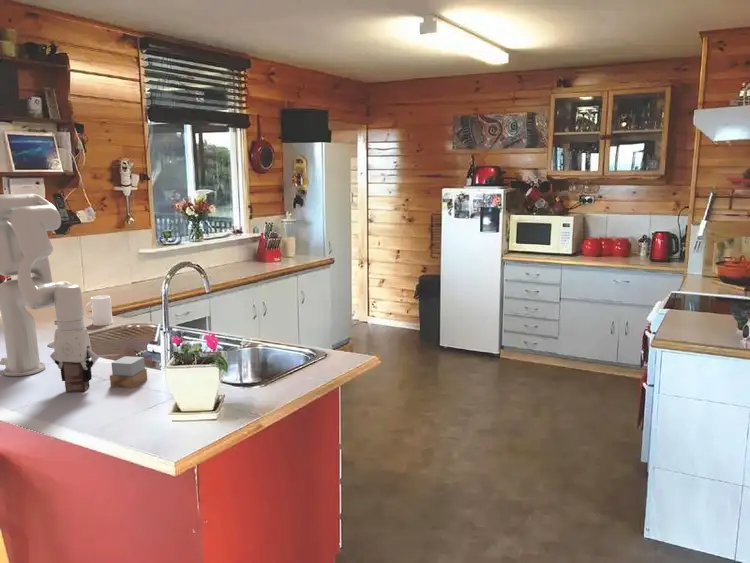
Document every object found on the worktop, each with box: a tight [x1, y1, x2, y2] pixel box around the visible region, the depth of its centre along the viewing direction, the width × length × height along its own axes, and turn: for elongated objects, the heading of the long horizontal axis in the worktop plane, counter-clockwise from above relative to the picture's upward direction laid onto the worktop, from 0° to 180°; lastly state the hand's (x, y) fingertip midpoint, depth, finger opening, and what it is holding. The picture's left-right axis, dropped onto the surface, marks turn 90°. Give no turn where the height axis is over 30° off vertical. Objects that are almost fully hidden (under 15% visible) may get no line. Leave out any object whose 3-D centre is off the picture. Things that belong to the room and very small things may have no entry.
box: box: [62, 361, 90, 393], centre depth 196 cm, size 6×4×12 cm
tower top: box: [110, 355, 146, 376], centre depth 202 cm, size 7×7×4 cm
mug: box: [83, 294, 114, 327], centre depth 277 cm, size 12×8×12 cm
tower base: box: [109, 368, 148, 389], centre depth 203 cm, size 8×8×4 cm
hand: (76, 379), depth 197 cm, fingers closed on box, 6 cm apart
